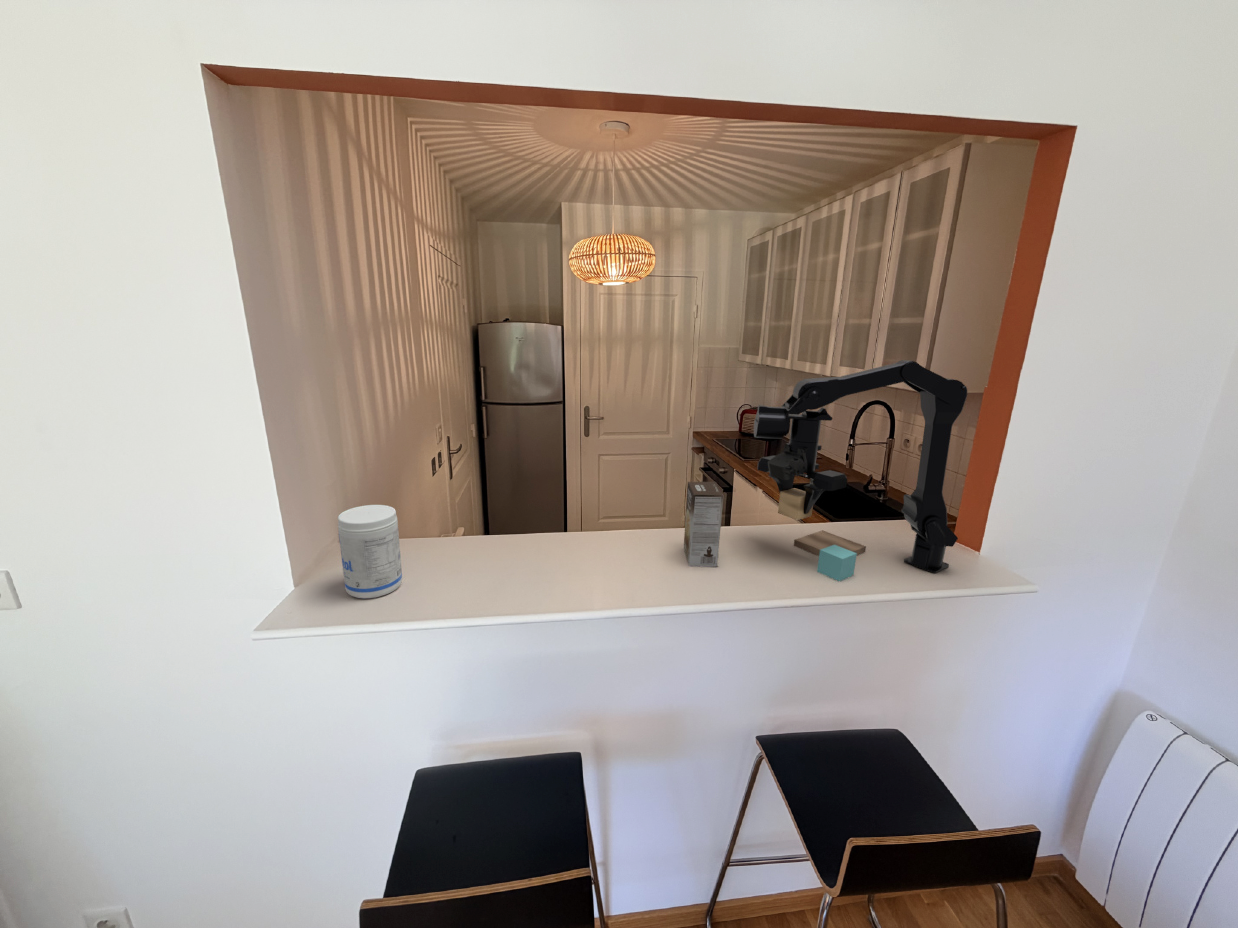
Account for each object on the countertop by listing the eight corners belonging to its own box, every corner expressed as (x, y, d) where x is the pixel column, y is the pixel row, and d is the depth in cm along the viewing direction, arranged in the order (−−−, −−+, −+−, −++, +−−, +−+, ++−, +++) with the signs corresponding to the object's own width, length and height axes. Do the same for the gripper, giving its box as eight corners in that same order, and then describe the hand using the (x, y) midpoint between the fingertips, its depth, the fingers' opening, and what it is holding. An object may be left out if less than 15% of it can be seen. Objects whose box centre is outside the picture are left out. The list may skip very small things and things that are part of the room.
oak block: (792, 509, 111) (794, 488, 109) (811, 516, 107) (814, 494, 105) (777, 513, 108) (780, 491, 107) (797, 520, 104) (799, 497, 103)
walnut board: (821, 537, 120) (822, 530, 120) (864, 554, 112) (866, 546, 111) (793, 547, 114) (794, 539, 114) (836, 565, 105) (838, 557, 105)
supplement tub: (337, 587, 90) (326, 512, 87) (388, 570, 97) (380, 500, 94) (360, 606, 84) (350, 527, 81) (413, 586, 92) (406, 512, 88)
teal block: (831, 566, 104) (834, 544, 103) (853, 575, 100) (856, 553, 99) (816, 571, 102) (820, 549, 100) (838, 581, 98) (842, 558, 96)
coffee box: (682, 548, 111) (686, 480, 107) (710, 549, 111) (715, 481, 107) (688, 567, 102) (693, 493, 98) (718, 567, 102) (725, 494, 98)
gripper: (743, 435, 106) (737, 503, 110) (819, 453, 91) (809, 531, 95) (777, 431, 112) (770, 495, 116) (853, 447, 97) (842, 520, 101)
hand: (795, 509), depth 107 cm, fingers closed on oak block, 5 cm apart
